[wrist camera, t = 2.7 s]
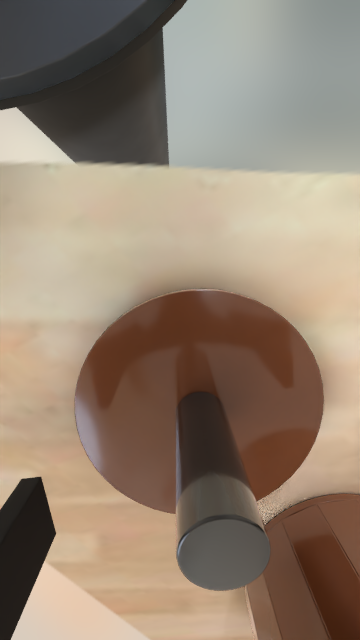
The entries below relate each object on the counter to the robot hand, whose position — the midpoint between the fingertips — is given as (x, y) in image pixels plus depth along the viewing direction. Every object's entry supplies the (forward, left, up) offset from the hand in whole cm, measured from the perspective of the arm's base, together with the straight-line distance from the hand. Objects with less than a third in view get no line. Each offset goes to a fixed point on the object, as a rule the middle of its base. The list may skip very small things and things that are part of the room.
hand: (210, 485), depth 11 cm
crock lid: (0, 0, -5) cm, 5 cm away
